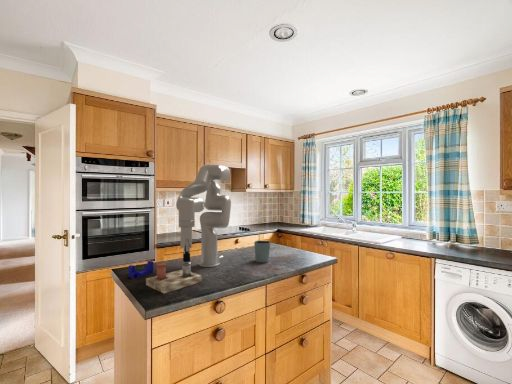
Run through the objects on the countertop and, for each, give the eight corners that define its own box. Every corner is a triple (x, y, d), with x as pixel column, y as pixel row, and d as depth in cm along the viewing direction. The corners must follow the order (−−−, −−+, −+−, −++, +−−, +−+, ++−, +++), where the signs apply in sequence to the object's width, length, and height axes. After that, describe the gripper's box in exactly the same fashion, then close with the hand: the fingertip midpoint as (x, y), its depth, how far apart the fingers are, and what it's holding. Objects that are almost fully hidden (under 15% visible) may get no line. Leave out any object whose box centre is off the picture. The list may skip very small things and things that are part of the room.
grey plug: (187, 273, 135) (187, 260, 135) (193, 275, 132) (193, 262, 132) (179, 275, 131) (179, 262, 131) (185, 277, 128) (185, 264, 128)
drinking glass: (251, 260, 172) (251, 241, 172) (262, 257, 179) (262, 239, 178) (261, 263, 164) (262, 244, 164) (273, 260, 171) (273, 241, 171)
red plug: (163, 275, 131) (163, 262, 131) (168, 277, 128) (168, 264, 128) (154, 278, 128) (154, 264, 128) (159, 280, 125) (159, 266, 125)
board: (182, 274, 142) (182, 269, 142) (201, 281, 132) (201, 275, 132) (146, 284, 127) (146, 278, 127) (163, 293, 117) (163, 286, 117)
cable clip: (133, 279, 136) (133, 267, 136) (128, 277, 139) (128, 265, 139) (154, 273, 146) (154, 262, 146) (150, 271, 149) (150, 260, 149)
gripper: (178, 222, 137) (178, 258, 137) (179, 225, 123) (179, 266, 123) (193, 221, 139) (193, 257, 139) (196, 225, 125) (195, 264, 125)
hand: (186, 261), depth 131 cm, fingers closed
